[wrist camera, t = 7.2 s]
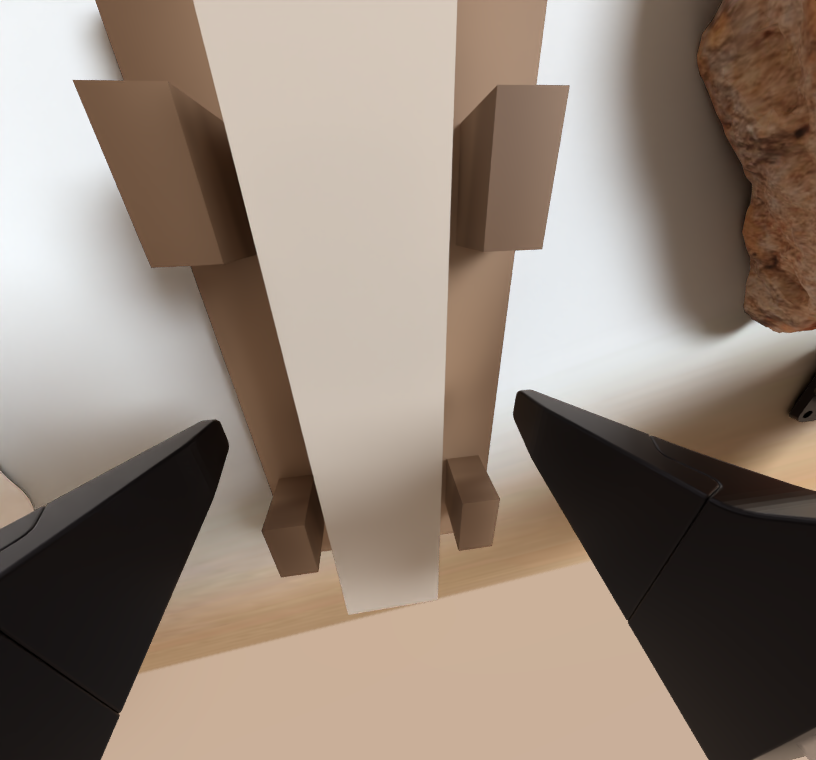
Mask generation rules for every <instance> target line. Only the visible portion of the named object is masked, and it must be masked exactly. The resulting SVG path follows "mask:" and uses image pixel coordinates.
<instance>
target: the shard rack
mask: <svg viewBox="0 0 816 760" xmlns="http://www.w3.org/2000/svg"><path fill="white" fill-rule="evenodd" d="M95 1H96V4H97V7H98V10H99V12H100V15H101V18H102V21H103V24H104V26H105V29H106V32H107V35H108V38H109V40H110V43H111V46H112V49H113V51H114V54H115V57H116V60H117V63H118V65H119V68H120V71H121V74H122V77H123V79H124V81H112V80H73V82H74V85H75V87H76V89H77V92H78V94H79V96H80V99H81V101H82V104H83V106H84V108H85V111H86V113H87V116H88V118H89V120H90V123H91V125H92V127H93V130H94V132H95V135H96V137H97V139H98V142H99V144H100V147H101V149H102V151H103V154H104V156H105V159H106V161H107V163H108V166H109V168H110V170H111V173H112V175H113V178H114V180H115V182H116V185H117V187H118V190H119V192H120V194H121V197H122V199H123V201H124V204H125V206H126V209H127V211H128V213H129V216H130V218H131V221H132V223H133V225H134V228H135V230H136V232H137V235H138V237H139V240H140V242H141V244H142V247H143V249H144V252H145V254H146V256H147V259H148V261H149V263H150V266H151V268H155V267H176V266H191V269H192V272H193V274H194V277H195V280H196V283H197V286H198V288H199V291H200V294H201V297H202V300H203V302H204V305H205V308H206V311H207V313H208V316H209V319H210V322H211V325H212V327H213V330H214V333H215V336H216V339H217V341H218V344H219V347H220V350H221V353H222V355H223V358H224V361H225V364H226V366H227V369H228V372H229V375H230V378H231V380H232V383H233V386H234V389H235V392H236V394H237V397H238V400H239V403H240V405H241V408H242V411H243V414H244V417H245V419H246V422H247V425H248V428H249V431H250V433H251V436H252V439H253V442H254V445H255V447H256V450H257V453H258V456H259V458H260V461H261V464H262V467H263V470H264V472H265V475H266V478H267V481H268V484H269V486H270V489H271V492H272V495H273V498H272V501H271V504H270V507H269V510H268V513H267V516H266V519H265V522H264V525H263V528H262V533H263V536H264V538H265V540H266V543H267V545H268V547H269V550H270V552H271V555H272V557H273V559H274V562H275V564H276V567H277V569H278V571H279V574H280V576H281V577H287V576H294V575H301V574H307V573H314V572H318V571H319V563H320V556H321V552H322V551H329V550H332V548H331V544H330V541H329V537H328V533H327V529H326V525H325V521H324V517H323V513H322V509H321V505H320V501H319V497H318V493H317V489H316V485H315V481H314V477H313V473H312V469H311V465H310V461H309V457H308V453H307V449H306V445H305V442H304V438H303V434H302V430H301V426H300V422H299V418H298V414H297V410H296V406H295V402H294V398H293V394H292V390H291V386H290V382H289V378H288V374H287V370H286V366H285V362H284V358H283V354H282V350H281V346H280V343H279V339H278V335H277V331H276V327H275V323H274V319H273V315H272V311H271V307H270V303H269V299H268V295H267V291H266V287H265V283H264V279H263V275H262V271H261V267H260V263H259V259H258V255H257V251H256V247H255V244H254V240H253V236H252V232H251V228H250V224H249V220H248V216H247V212H246V208H245V204H244V200H243V196H242V192H241V188H240V184H239V180H238V176H237V172H236V168H235V164H234V160H233V156H232V152H231V148H230V145H229V141H228V137H227V133H226V129H225V125H224V121H223V117H222V113H221V109H220V105H219V101H218V97H217V93H216V89H215V85H214V81H213V77H212V73H211V69H210V65H209V61H208V57H207V53H206V49H205V46H204V42H203V38H202V34H201V30H200V26H199V22H198V18H197V14H196V10H195V6H194V2H193V0H95ZM546 6H547V0H457V25H456V56H455V87H454V118H453V148H452V179H451V210H450V240H449V271H448V302H447V333H446V363H445V394H444V425H443V455H442V486H441V517H440V535H441V534H448V533H454V536H455V539H456V543H457V546H458V550H459V551H461V550H468V549H474V548H481V547H488V546H492V543H493V537H494V531H495V525H496V519H497V513H498V507H499V501H500V498H499V496H498V494H497V492H496V490H495V488H494V486H493V484H492V482H491V480H490V478H489V476H488V474H487V472H486V471H487V463H488V455H489V447H490V440H491V432H492V424H493V416H494V409H495V401H496V393H497V385H498V378H499V370H500V362H501V354H502V347H503V339H504V331H505V323H506V316H507V308H508V300H509V292H510V285H511V277H512V269H513V261H514V254H515V250H536V249H542V246H543V240H544V235H545V229H546V223H547V217H548V211H549V205H550V199H551V193H552V187H553V181H554V175H555V169H556V163H557V158H558V152H559V146H560V140H561V134H562V128H563V122H564V116H565V110H566V104H567V98H568V92H569V86H570V85H536V83H537V76H538V68H539V60H540V52H541V45H542V37H543V29H544V21H545V14H546Z"/></svg>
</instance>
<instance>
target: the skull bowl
mask: <svg viewBox="0 0 816 760" xmlns="http://www.w3.org/2000/svg"><path fill="white" fill-rule="evenodd" d="M33 511H34V509H33V506H32V504H31V502H30V500H29V498H28V497H27V495H26V494H25V493H24V492H23V491H22V490H21V489H20V488H19V487H18V486H16V485H15V484H14V483H13V482H11V481H10V480H9V479H8V478H7V477H6V476H5V475H4V474H3V473H2V472H1V471H0V529H1V528H3V527H5V526H7V525H9V524H10V523H12V522H14V521H16V520H18V519H20V518H22V517H24V516H26V515H27V514H29V513H31V512H33Z"/></svg>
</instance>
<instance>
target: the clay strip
mask: <svg viewBox="0 0 816 760" xmlns="http://www.w3.org/2000/svg"><path fill="white" fill-rule="evenodd" d="M193 2H194V6H195V10H196V14H197V18H198V22H199V26H200V30H201V34H202V38H203V42H204V46H205V49H206V53H207V57H208V61H209V65H210V69H211V73H212V77H213V81H214V85H215V89H216V93H217V97H218V101H219V105H220V109H221V113H222V117H223V121H224V125H225V129H226V133H227V137H228V141H229V145H230V148H231V152H232V156H233V160H234V164H235V168H236V172H237V176H238V180H239V184H240V188H241V192H242V196H243V200H244V204H245V208H246V212H247V216H248V220H249V224H250V228H251V232H252V236H253V240H254V244H255V247H256V251H257V255H258V259H259V263H260V267H261V271H262V275H263V279H264V283H265V287H266V291H267V295H268V299H269V303H270V307H271V311H272V315H273V319H274V323H275V327H276V331H277V335H278V339H279V343H280V346H281V350H282V354H283V358H284V362H285V366H286V370H287V374H288V378H289V382H290V386H291V390H292V394H293V398H294V402H295V406H296V410H297V414H298V418H299V422H300V426H301V430H302V434H303V438H304V442H305V445H306V449H307V453H308V457H309V461H310V465H311V469H312V473H313V477H314V481H315V485H316V489H317V493H318V497H319V501H320V505H321V509H322V513H323V517H324V521H325V525H326V529H327V533H328V537H329V541H330V544H331V548H332V552H333V556H334V560H335V564H336V568H337V572H338V576H339V580H340V584H341V588H342V592H343V596H344V600H345V604H346V608H347V612H348V615H350V614H356V613H362V612H369V611H375V610H381V609H387V608H393V607H399V606H405V605H411V604H417V603H423V602H429V601H435V600H438V578H439V548H440V517H441V486H442V455H443V425H444V394H445V363H446V333H447V302H448V271H449V240H450V210H451V179H452V148H453V118H454V87H455V56H456V25H457V0H193Z"/></svg>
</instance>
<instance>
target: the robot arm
mask: <svg viewBox="0 0 816 760" xmlns="http://www.w3.org/2000/svg"><path fill="white" fill-rule="evenodd" d="M513 417H514V420H515V423H516V425H517V427H518V429H519V432H520V434H521V436H522V438H523V441H524V443H525V445H526V447H527V450H528V452H529V454H530V456H531V458H532V460H533V462H534V464H535V465H536V467H537V469H538V470H539V472H540V474H541V476H542V477H543V479H544V481H545V482H546V484H547V486H548V487H549V489H550V491H551V493H552V494H553V496H554V498H555V499H556V501H557V503H558V504H559V506H560V508H561V510H562V511H563V513H564V515H565V516H566V518H567V520H568V521H569V523H570V525H571V527H572V528H573V530H574V532H575V533H576V535H577V537H578V538H579V540H580V542H581V543H582V545H583V547H584V549H585V550H586V552H587V554H588V555H589V557H590V559H591V560H592V562H593V564H594V566H595V567H596V569H597V571H598V572H599V574H600V576H601V577H602V579H603V581H604V582H605V584H606V586H607V587H608V589H609V591H610V593H611V594H612V596H613V598H614V600H615V601H616V603H617V605H618V606H619V608H620V610H621V611H622V613H623V615H624V616H625V618H626V620H628V624H629V626H630V627H631V629H632V631H633V632H634V634H635V636H636V637H637V639H638V640H639V642H640V644H641V646H642V648H643V649H644V651H645V653H646V654H647V656H648V658H649V659H650V661H651V663H652V664H653V666H654V668H655V670H656V671H657V673H658V675H659V676H660V678H661V680H662V681H663V683H664V685H665V686H666V688H667V690H668V692H669V693H670V695H671V697H672V698H673V700H674V702H675V704H676V705H677V707H678V709H679V710H680V712H681V714H682V715H683V717H684V719H685V721H686V722H687V724H688V726H689V727H690V729H691V731H692V732H693V734H694V736H695V737H696V739H697V741H698V743H699V744H700V746H701V748H702V749H703V751H704V753H705V755H706V756H707V758H708V759H709V760H791V759H796V758H800V757H804V756H806V757H807V758H808V759H809V760H816V491H813V490H809V489H805V488H802V487H799V486H795V485H792V484H789V483H786V482H783V481H780V480H777V479H774V478H771V477H768V476H765V475H763V474H760V473H757V472H754V471H751V470H748V469H745V468H742V467H739V466H736V465H733V464H730V463H727V462H724V461H721V460H718V459H715V458H712V457H709V456H706V455H703V454H700V453H698V452H695V451H692V450H689V449H686V448H684V447H681V446H678V445H675V444H673V443H670V442H667V441H665V440H662V439H659V438H657V437H654V436H649V435H648V434H646V433H644V432H641V431H638V430H636V429H633V428H630V427H628V426H625V425H623V424H620V423H617V422H615V421H612V420H609V419H607V418H604V417H602V416H599V415H596V414H594V413H591V412H588V411H586V410H583V409H581V408H578V407H575V406H573V405H570V404H568V403H565V402H562V401H560V400H557V399H554V398H552V397H549V396H547V395H544V394H541V393H539V392H536V391H533V390H521V391H518V392H517V394H516V399H515V405H514V411H513ZM789 417H790V418H793V419H795V420H797V421H799V422H806V421H814V420H816V376H815V377H814V379H813V380H812V381H811V383H810V384H809V386H808V387H807V389H806V390H805V391H804V393H803V394H802V396H801V397H800V399H799V400H798V401H797V403H796V404H795V406H794V407H793V408H792V410H791V411H790V413H789ZM228 450H229V443H228V440H227V437H226V435H225V432H224V430H223V427H222V425H221V423H220V422H219V421H218V420H206V421H201V422H199V423H197V424H195V425H193V426H191V427H189V428H187V429H186V430H184V431H182V432H180V433H178V434H176V435H174V436H173V437H171V438H169V439H167V440H165V441H163V442H161V443H160V444H158V445H156V446H154V447H152V448H150V449H148V450H147V451H145V452H143V453H141V454H139V455H137V456H135V457H134V458H132V459H130V460H128V461H126V462H124V463H122V464H121V465H119V466H117V467H115V468H113V469H111V470H109V471H108V472H106V473H104V474H102V475H100V476H98V477H96V478H94V479H93V480H91V481H89V482H87V483H85V484H83V485H81V486H80V487H78V488H76V489H74V490H72V491H70V492H68V493H67V494H65V495H63V496H61V497H59V498H57V499H55V500H54V501H52V502H50V503H48V504H47V505H46V507H40V508H39V509H37V510H35V511H33V512H31V513H29V514H27V515H26V516H24V517H22V518H20V519H18V520H16V521H14V522H12V523H10V524H9V525H7V526H5V527H3V528H1V529H0V760H101V758H102V756H103V753H104V751H105V749H106V746H107V744H108V742H109V739H110V737H111V735H112V732H113V730H114V728H115V725H116V723H117V720H118V719H119V716H120V715H119V714H118V713H120V712H121V711H122V709H123V706H124V704H125V702H126V699H127V697H128V695H129V692H130V690H131V688H132V686H133V683H134V681H135V679H136V676H137V674H138V672H139V669H140V667H141V665H142V662H143V660H144V658H145V656H146V653H147V651H148V649H149V646H150V644H151V642H152V639H153V637H154V635H155V632H156V630H157V628H158V626H159V623H160V621H161V619H162V616H163V614H164V612H165V609H166V607H167V605H168V602H169V600H170V598H171V596H172V593H173V591H174V589H175V586H176V584H177V582H178V579H179V577H180V575H181V572H182V570H183V568H184V566H185V563H186V561H187V559H188V556H189V554H190V552H191V549H192V547H193V545H194V542H195V540H196V538H197V536H198V533H199V531H200V529H201V526H202V524H203V522H204V519H205V517H206V515H207V512H208V510H209V508H210V505H211V503H212V501H213V498H214V495H215V492H216V490H217V486H218V483H219V480H220V476H221V473H222V470H223V467H224V463H225V460H226V457H227V453H228Z"/></svg>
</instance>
